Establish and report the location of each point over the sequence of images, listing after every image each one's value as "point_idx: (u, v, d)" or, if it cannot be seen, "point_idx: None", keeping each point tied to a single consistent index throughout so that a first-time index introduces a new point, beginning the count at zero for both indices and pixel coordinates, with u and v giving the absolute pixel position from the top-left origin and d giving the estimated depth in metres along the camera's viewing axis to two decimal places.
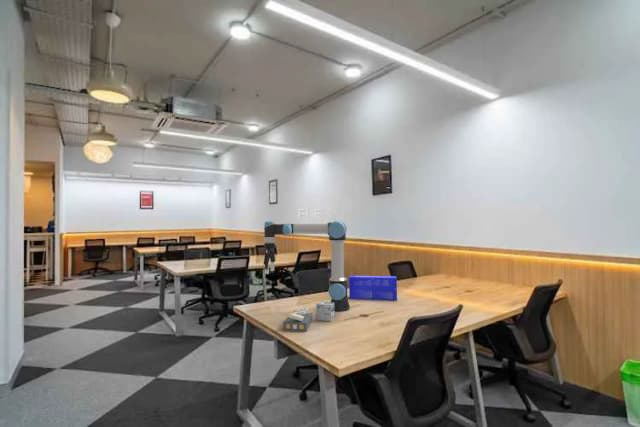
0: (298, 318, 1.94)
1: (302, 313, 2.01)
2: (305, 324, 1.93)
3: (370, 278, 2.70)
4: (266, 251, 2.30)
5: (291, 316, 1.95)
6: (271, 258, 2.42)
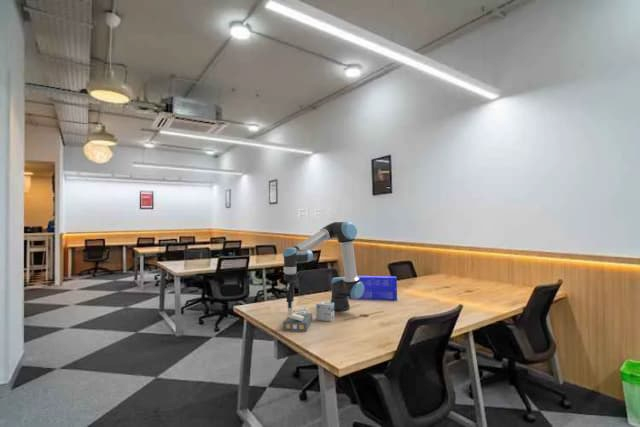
0: (298, 318, 1.94)
1: (302, 313, 2.01)
2: (305, 324, 1.93)
3: (370, 278, 2.70)
4: (287, 288, 1.92)
5: (291, 316, 1.95)
6: None
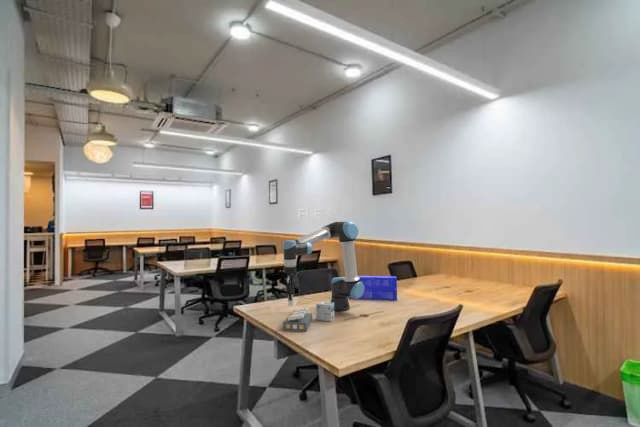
0: (298, 316, 1.94)
1: None
2: (305, 324, 1.93)
3: (370, 278, 2.70)
4: (287, 281, 1.92)
5: (291, 318, 1.95)
6: None
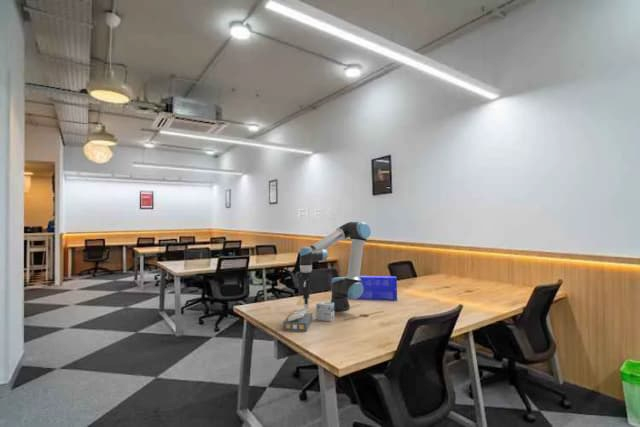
0: (298, 316, 1.94)
1: None
2: (305, 324, 1.93)
3: (370, 278, 2.70)
4: (304, 286, 2.03)
5: (291, 318, 1.95)
6: None
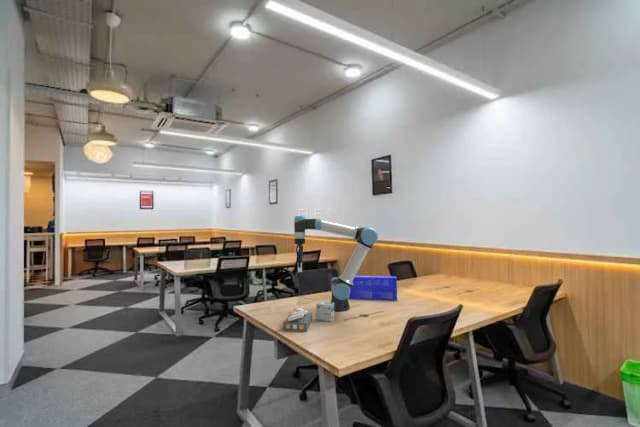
0: (298, 316, 1.94)
1: None
2: (305, 324, 1.93)
3: (370, 278, 2.70)
4: (297, 250, 2.23)
5: (291, 318, 1.95)
6: None
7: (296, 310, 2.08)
